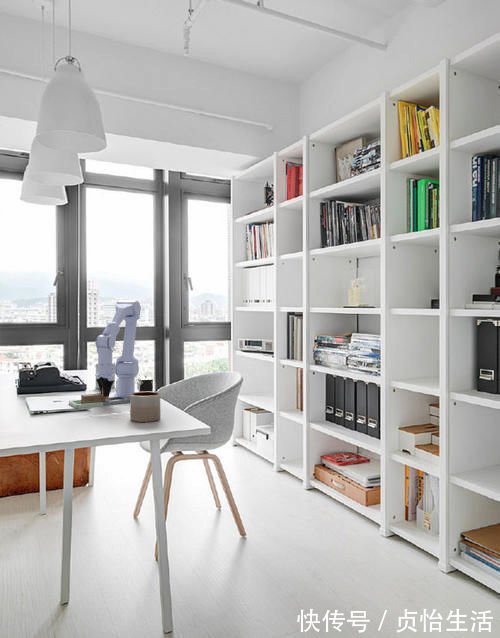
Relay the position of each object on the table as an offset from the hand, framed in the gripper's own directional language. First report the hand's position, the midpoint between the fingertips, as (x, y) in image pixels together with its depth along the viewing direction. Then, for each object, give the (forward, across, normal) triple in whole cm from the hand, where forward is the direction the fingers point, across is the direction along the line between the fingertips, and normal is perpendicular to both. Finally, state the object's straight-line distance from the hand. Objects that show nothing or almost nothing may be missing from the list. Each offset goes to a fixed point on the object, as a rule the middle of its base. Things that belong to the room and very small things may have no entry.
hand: (104, 395), depth 211 cm
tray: (+4, 0, -8) cm, 8 cm away
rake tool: (+3, 0, 0) cm, 3 cm away
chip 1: (+3, 0, -7) cm, 8 cm away
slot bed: (+4, 0, +3) cm, 5 cm away
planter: (+4, +35, +3) cm, 35 cm away
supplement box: (+4, -41, +15) cm, 44 cm away
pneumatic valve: (+4, +7, +15) cm, 17 cm away
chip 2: (+3, 0, -3) cm, 4 cm away
